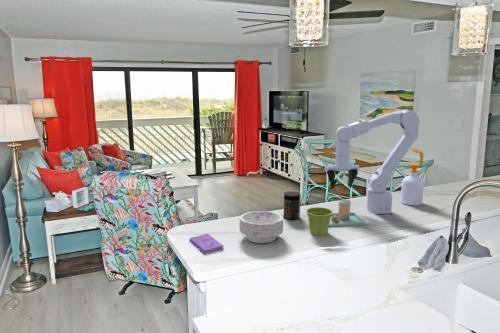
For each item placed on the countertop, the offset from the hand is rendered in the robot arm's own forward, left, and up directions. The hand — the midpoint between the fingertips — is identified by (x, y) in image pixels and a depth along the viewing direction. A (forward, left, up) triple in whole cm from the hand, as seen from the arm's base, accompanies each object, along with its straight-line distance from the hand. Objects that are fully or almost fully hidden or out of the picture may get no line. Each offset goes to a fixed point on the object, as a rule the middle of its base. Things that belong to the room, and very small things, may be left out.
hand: (341, 187), depth 164 cm
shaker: (+3, +13, -9) cm, 16 cm away
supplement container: (+23, +8, -10) cm, 26 cm away
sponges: (+57, +29, -11) cm, 65 cm away
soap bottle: (-35, -5, -10) cm, 37 cm away
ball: (+8, +17, -9) cm, 21 cm away
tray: (+5, +14, -10) cm, 18 cm away
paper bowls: (+38, +26, -10) cm, 47 cm away
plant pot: (+17, +25, -10) cm, 32 cm away
